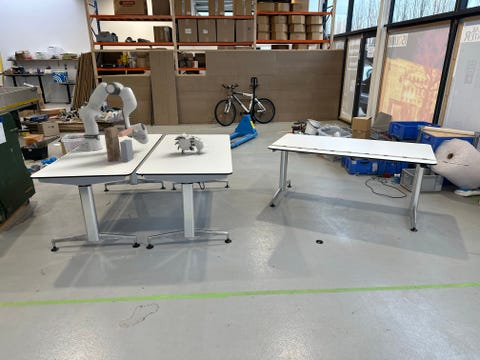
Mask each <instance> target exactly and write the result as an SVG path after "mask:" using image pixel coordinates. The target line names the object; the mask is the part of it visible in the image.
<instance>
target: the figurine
mask: <svg viewBox="0 0 480 360" xmlns="http://www.w3.org/2000/svg"><path fill="white" fill-rule="evenodd" d="M202 139H203V138H202V137H200V136H199V137H197V136H196V135H195V134H192V135H189V134H188V135H187V134H186V133H185V132H182V134H181V133H178V136H176V137H175V139H174V141H175V143H174V145H175V146H177V145H178V147H177V151H179V150H180V149H181V153H182V154H183V155H184V154H185V153H184V152H185V151H191V152H192V151H195V149H196V150H197V151H196V154H200V152H201V151H202V150H203V149H204V148H207V147H210V145H209V144H207V143H205V141H204V140H202Z"/></svg>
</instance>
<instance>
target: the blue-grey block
mask: <svg viewBox="0 0 480 360" xmlns="http://www.w3.org/2000/svg"><path fill="white" fill-rule="evenodd" d="M119 146H120V154H121V162H122V163H123V162H124V163H129V162H131V161H132V160H134V159H135V158H134V151H133V150H134V149H133V141H132V139H123V140H122V141H119Z"/></svg>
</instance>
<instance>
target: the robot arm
mask: <svg viewBox="0 0 480 360" xmlns="http://www.w3.org/2000/svg"><path fill="white" fill-rule="evenodd" d="M109 95H110V96H119V97H120V98H121V100H122V102H123V103H122V104H123V108H122V109H121V113H122V119H123V124H124V129H122V131H124V130H127V129H129V128H134V129H133V132H132V133H130V134H128V135H126V136H125V137H128V138H129V139H133V140H136V141H137V142H138V143H140V144H141V145H146V144H147V143H148V142H149V137H148V133H149V132H148V127H147V126H146V124H145V123H142V122H140V123H137V124H134V125H131V124H130V118H129V116H130V114H131V113H132V112H134V110H136V109H137V106H138V103H137V99H136V96H135V94H134V92H133V90H132V88H130V87H127V86H125V85H124V84H123V83H121V82H116V81H113V82H111V81H110V82H108V83H107V82H100V83H99V84H98V85H97V86H96V87H95V89H94V91H93V92H92V94H91V95H90V97H89V101H88V103H87V105H86V106H83V107H81V108H80V109H79V111H78V115H79V116H78V117H80V118H81V121H82V123H83V127H84V132H85V134H83V139H82V140H81V141H79V143H78V147H77V148H76V151H83V152H93V151H100V150H102V149H104V148H103V145H102V142H101V136H100V132H99V125H98V123H97V122H96V118H95V117H97V116H98V115H99V112H100V110H101V108H102V105H103V104H104V102H105V101H106V99H107V97H108V96H109Z"/></svg>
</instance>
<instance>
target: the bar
mask: <svg viewBox="0 0 480 360" xmlns="http://www.w3.org/2000/svg"><path fill="white" fill-rule="evenodd" d="M133 129H134V128H129V129H127V130H125V129H123V130H124V131H123V130H122V131H120V132H118V138H119V137H120V138H124V137H127V136H126V135H128V134H130V133H132V132H133Z"/></svg>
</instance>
